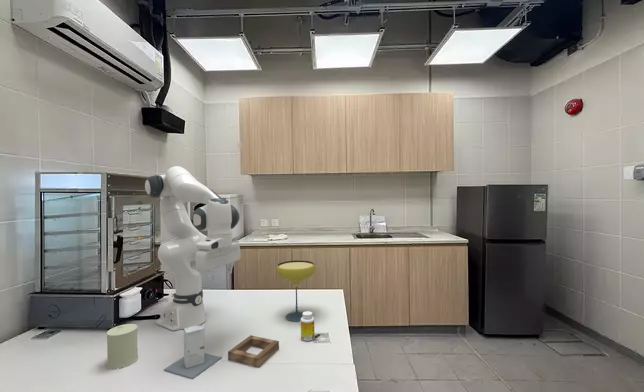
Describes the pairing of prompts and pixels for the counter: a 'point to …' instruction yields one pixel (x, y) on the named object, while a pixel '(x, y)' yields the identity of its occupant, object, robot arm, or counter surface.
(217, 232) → the robot arm
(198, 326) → the skincare box
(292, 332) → the counter surface
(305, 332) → the supplement bottle
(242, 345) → the walnut collar
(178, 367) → the slate mat
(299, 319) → the cocktail glass
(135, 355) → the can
